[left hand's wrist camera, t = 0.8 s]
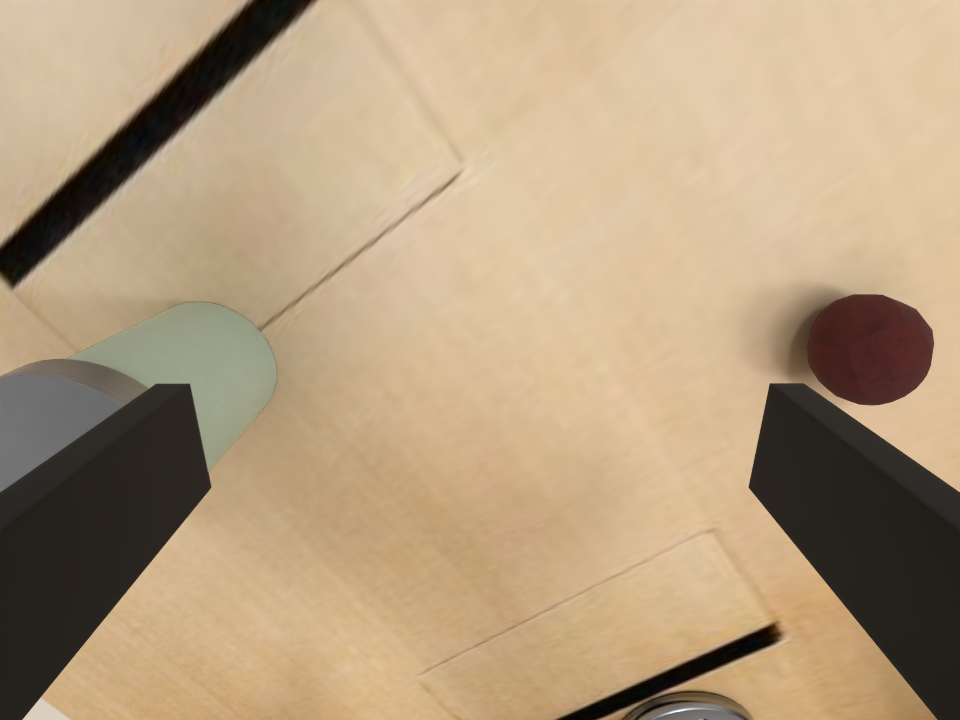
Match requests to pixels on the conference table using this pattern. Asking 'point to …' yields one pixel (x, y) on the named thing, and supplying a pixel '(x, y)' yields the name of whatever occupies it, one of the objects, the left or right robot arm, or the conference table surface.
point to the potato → (870, 349)
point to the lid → (54, 409)
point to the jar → (198, 366)
